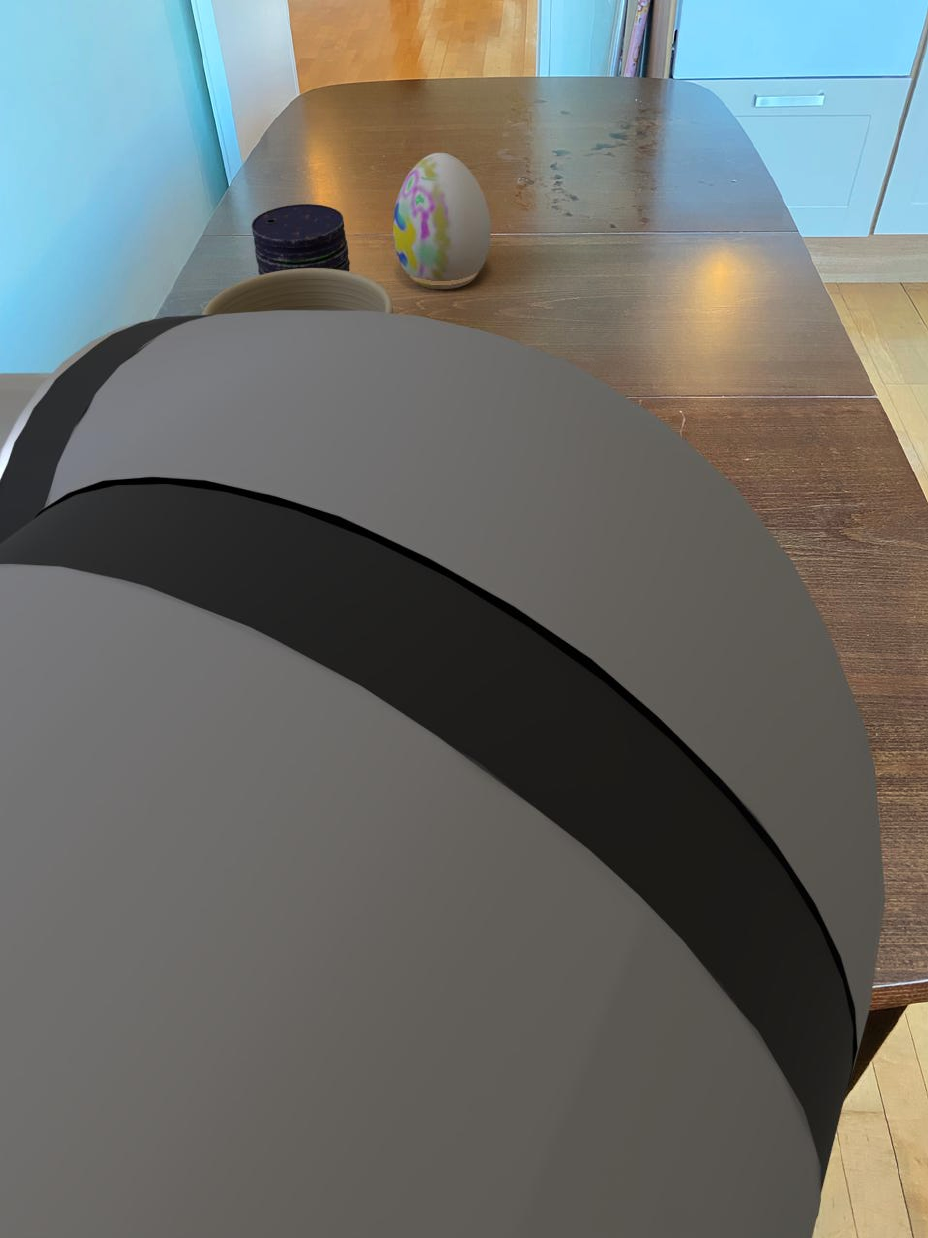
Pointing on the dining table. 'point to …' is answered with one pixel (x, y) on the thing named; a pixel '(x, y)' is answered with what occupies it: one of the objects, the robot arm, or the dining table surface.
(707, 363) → the dining table surface
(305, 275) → the planter
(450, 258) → the decorative egg
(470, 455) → the robot arm
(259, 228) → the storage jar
